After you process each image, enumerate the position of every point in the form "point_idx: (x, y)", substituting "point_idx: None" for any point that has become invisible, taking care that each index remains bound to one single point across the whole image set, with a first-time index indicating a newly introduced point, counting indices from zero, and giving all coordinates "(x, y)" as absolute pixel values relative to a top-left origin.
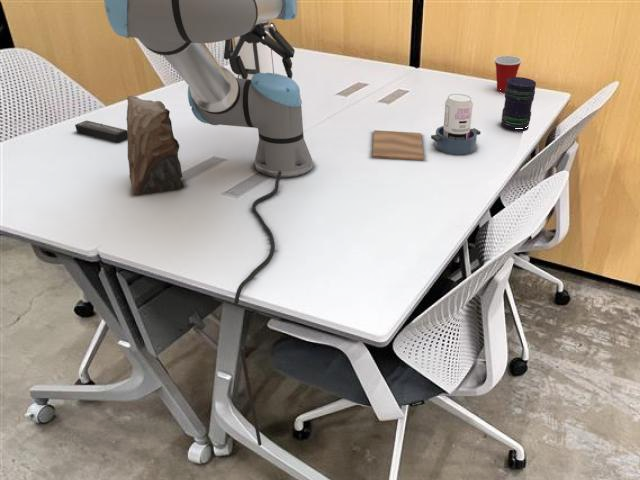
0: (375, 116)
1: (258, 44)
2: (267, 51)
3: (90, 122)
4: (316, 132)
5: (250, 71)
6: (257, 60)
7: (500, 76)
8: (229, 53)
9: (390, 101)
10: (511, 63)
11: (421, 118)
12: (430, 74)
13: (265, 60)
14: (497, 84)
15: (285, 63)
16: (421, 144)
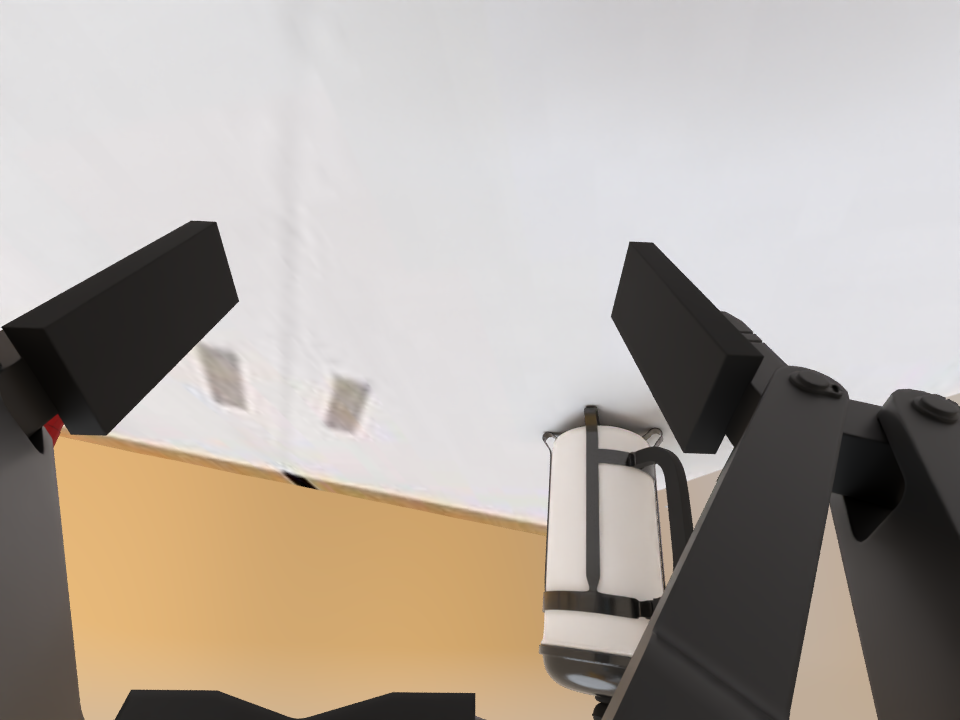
0: None
1: (580, 539)
2: (556, 515)
3: None
4: (227, 25)
5: (615, 457)
6: (589, 489)
7: None
8: (853, 477)
9: (208, 357)
10: None
11: (12, 259)
12: (243, 456)
13: (565, 489)
14: (51, 419)
15: (44, 304)
16: None
